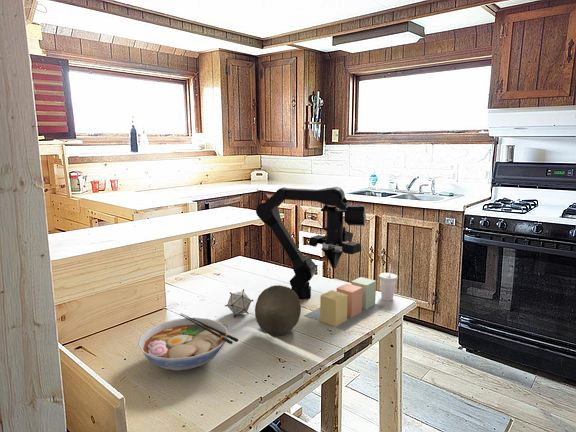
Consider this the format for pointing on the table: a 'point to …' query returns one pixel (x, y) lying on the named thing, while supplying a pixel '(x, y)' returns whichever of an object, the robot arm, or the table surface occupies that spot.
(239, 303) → the grey spiked polyhedron
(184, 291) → the table surface
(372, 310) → the grey mat
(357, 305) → the terracotta block
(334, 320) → the mustard block
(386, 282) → the smoothie
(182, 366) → the ramen bowl
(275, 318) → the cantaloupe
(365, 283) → the sage block
